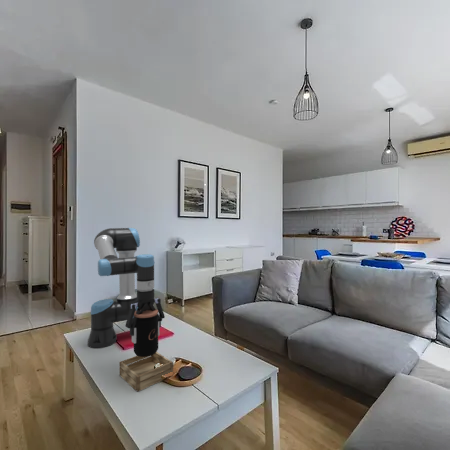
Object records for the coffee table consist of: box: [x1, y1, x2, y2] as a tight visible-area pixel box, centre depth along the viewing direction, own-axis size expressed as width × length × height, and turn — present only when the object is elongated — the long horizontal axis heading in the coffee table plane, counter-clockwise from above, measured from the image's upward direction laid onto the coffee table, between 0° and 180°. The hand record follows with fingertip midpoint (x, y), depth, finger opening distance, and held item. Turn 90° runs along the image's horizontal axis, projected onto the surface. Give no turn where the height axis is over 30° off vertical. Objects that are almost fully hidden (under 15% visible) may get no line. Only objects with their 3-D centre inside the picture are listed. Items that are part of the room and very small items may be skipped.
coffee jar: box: [133, 308, 159, 358], centre depth 124 cm, size 11×11×18 cm
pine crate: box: [118, 351, 174, 392], centre depth 125 cm, size 17×17×6 cm
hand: (146, 338), depth 124 cm, fingers closed on coffee jar, 11 cm apart
